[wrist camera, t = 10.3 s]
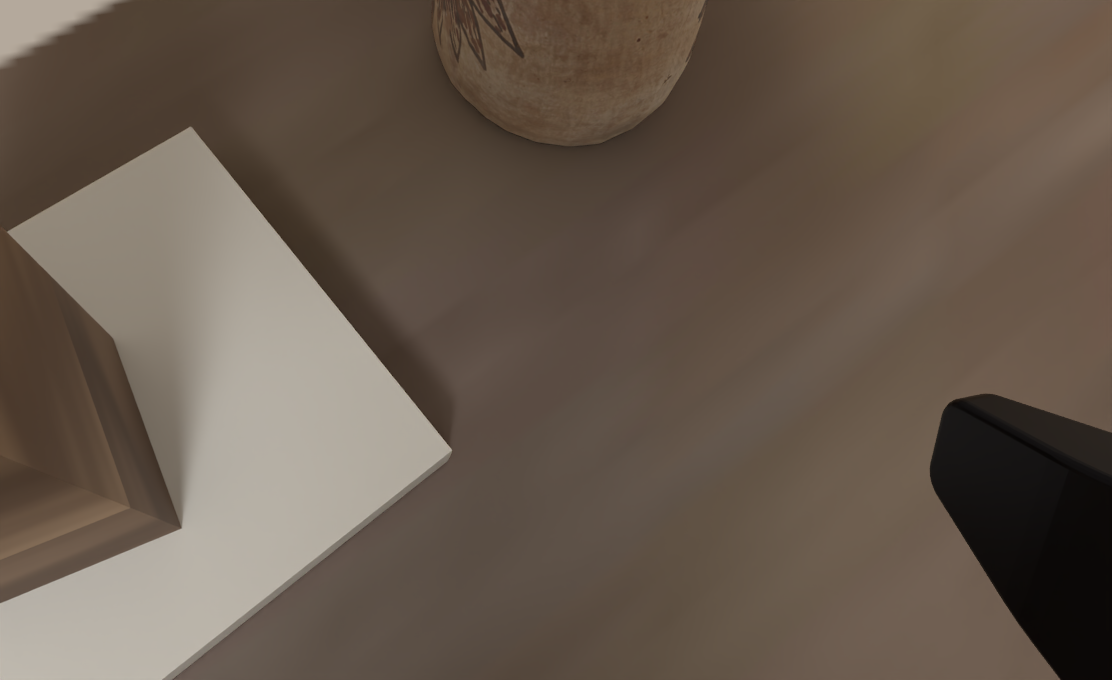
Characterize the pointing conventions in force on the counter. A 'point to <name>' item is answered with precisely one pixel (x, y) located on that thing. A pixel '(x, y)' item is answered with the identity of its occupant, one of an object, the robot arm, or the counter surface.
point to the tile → (211, 418)
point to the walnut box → (66, 437)
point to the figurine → (566, 61)
